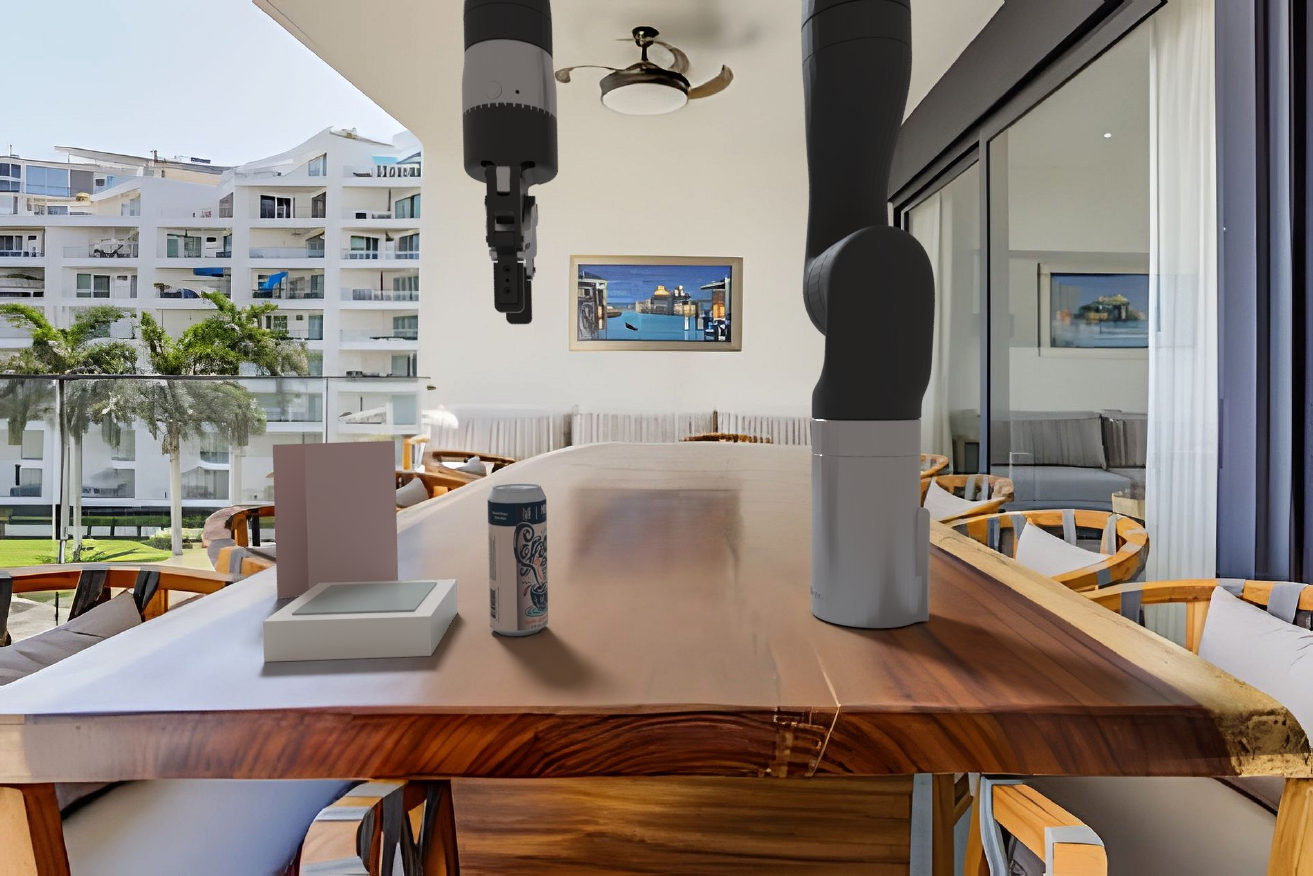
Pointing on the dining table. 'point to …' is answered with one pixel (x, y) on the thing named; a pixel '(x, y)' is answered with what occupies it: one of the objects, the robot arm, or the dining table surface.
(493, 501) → the beer can
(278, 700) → the dining table surface
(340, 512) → the greeting card
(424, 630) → the picture frame
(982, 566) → the dining table surface
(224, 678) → the dining table surface
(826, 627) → the dining table surface
